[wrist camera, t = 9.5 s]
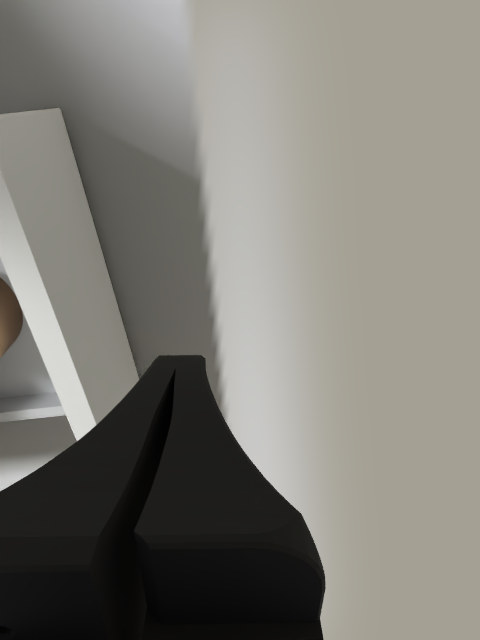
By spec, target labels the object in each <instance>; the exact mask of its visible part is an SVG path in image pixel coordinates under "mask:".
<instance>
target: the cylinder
mask: <svg viewBox="0 0 480 640" xmlns="http://www.w3.org/2000/svg"><path fill="white" fill-rule="evenodd" d="M22 325H23V314H22V309H21V306H20V304H19V301H18V299H17V297H16V295H15V293H14V292H13V291H12V289H11V288H10V287H9V285H8V284H7V283H6V282H5V281H4V280H3V279H2V278H0V358H1V357H2V356H3V355H4V353H5V352H6V351H7V350H8V349H9V348H10V346H11V345H12V344H13V343H14V342H15V341H16V339H17V338H18V336H19V334H20V332H21V330H22Z"/></svg>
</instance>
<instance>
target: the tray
mask: <svg viewBox="0 0 480 640" xmlns="http://www.w3.org/2000/svg"><path fill="white" fill-rule="evenodd" d="M0 278H2V279H3V280H4V281H5V282H6V283H7V284H8V285H9V287H10V288H11V289H12V291H13V292H14V293H15V295H16V297H17V299H18V301H19V304H20V306H21V309H22V314H23V325H22V330H21V332H20V334H19V336H18V338H17V339H16V341H15V342H14V343H13V344H12V345H11V346H10V348H9V349H8V350H7V351H6V352H5V353H4V355H3V356H2V357H1V358H0V422H9V421H18V420H27V419H36V418H45V417H54V416H63V415H66V417H67V419H68V421H69V424H70V426H71V429H72V431H73V433H74V436H75V438H76V441H78V440H79V439H81V438H82V437H83V436H84V435H85V434H87V433H88V432H89V431H90V430H91V429H92V428H94V427H95V426H96V425H97V424H98V423H99V422H100V421H101V420H102V419H103V418H104V417H105V416H106V415H107V414H108V413H109V412H110V411H111V410H112V409H113V408H114V407H115V406H116V405H117V404H118V403H119V402H120V401H121V400H122V399H123V398H124V397H125V396H126V394H127V393H128V392H129V391H130V390H131V389H132V388H133V386H134V385H135V384H136V383H137V382H138V381H139V377H138V373H137V370H136V366H135V363H134V360H133V356H132V353H131V349H130V346H129V342H128V339H127V336H126V332H125V329H124V325H123V322H122V318H121V315H120V312H119V308H118V305H117V301H116V298H115V294H114V291H113V288H112V284H111V281H110V277H109V274H108V270H107V267H106V263H105V260H104V257H103V253H102V250H101V246H100V243H99V239H98V236H97V233H96V229H95V226H94V222H93V219H92V215H91V212H90V209H89V205H88V202H87V198H86V195H85V191H84V188H83V185H82V181H81V178H80V174H79V171H78V167H77V164H76V161H75V157H74V154H73V150H72V147H71V143H70V140H69V137H68V133H67V130H66V126H65V123H64V119H63V116H62V113H61V109H60V108H54V109H44V110H34V111H25V112H15V113H5V114H0Z"/></svg>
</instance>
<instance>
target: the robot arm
mask: <svg viewBox="0 0 480 640" xmlns="http://www.w3.org/2000/svg"><path fill="white" fill-rule="evenodd" d="M324 593H325V574H324V570H323V566H322V563H321V560H320V557H319V553H318V551H317V548H316V545H315V543H314V540H313V538H312V536H311V534H310V531H309V529H308V527H307V525H306V523H305V521H304V519H303V516H302V514H301V513H300V512H299V511H298V510H296V509H295V508H294V507H293V506H292V505H291V504H290V503H289V502H288V501H287V500H286V499H285V498H284V497H283V496H282V495H281V494H280V493H279V492H277V490H276V489H275V488H274V487H273V486H272V485H271V484H270V483H269V482H268V481H267V480H266V479H265V478H264V476H263V475H262V474H261V472H259V470H258V469H257V468H256V466H255V465H254V464H253V462H252V461H251V460H250V459H249V457H248V456H247V455H246V454H245V452H244V451H243V449H242V448H241V446H240V445H239V443H238V442H237V440H236V439H235V437H234V436H233V434H232V432H231V431H230V429H229V427H228V425H227V424H226V422H225V420H224V418H223V416H222V414H221V412H220V410H219V408H218V405H217V403H216V401H215V398H214V396H213V393H212V391H211V388H210V385H209V382H208V378H207V374H206V365H205V358H204V357H203V356H201V355H179V356H158V357H157V358H156V359H155V360H154V362H153V363H152V364H151V366H150V367H149V368H148V369H147V371H146V372H145V373H144V375H143V376H142V377H141V378H140V379H139V381H138V382H137V383H136V384H135V385H134V386H133V388H132V389H131V390H130V391H129V392H128V393H127V394H126V396H125V397H124V398H123V399H122V400H121V401H120V402H119V403H118V404H117V405H116V406H115V407H114V408H113V409H112V410H111V411H110V412H109V413H108V414H107V415H106V416H105V417H104V418H103V419H102V420H101V421H100V422H99V423H98V424H97V425H96V426H95V427H94V428H92V429H91V430H90V431H89V432H88V433H87V434H85V435H84V436H83V437H82V438H81V439H79V440H78V441H77V442H76V443H74V444H73V445H72V446H70V447H69V448H67V449H66V450H65V451H63V452H62V453H60V454H59V455H58V456H56V457H55V458H53V459H52V460H51V461H49V462H48V463H46V464H45V465H43V466H42V467H40V468H39V469H37V470H36V471H34V472H32V473H31V474H29V475H28V476H26V477H24V478H23V479H21V480H19V481H18V482H16V483H14V484H13V485H11V486H9V487H7V488H6V489H4V490H2V491H0V640H323V634H322V628H321V622H320V614H321V609H322V603H323V598H324Z"/></svg>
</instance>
